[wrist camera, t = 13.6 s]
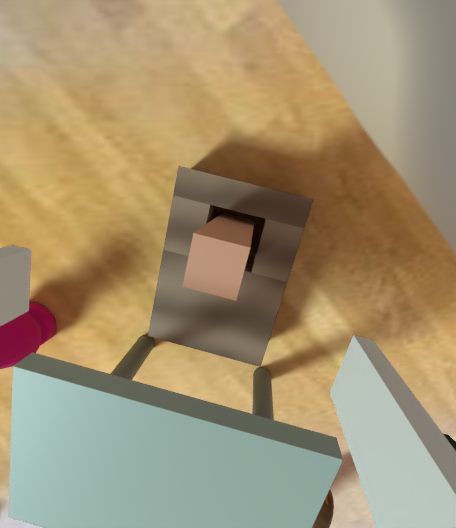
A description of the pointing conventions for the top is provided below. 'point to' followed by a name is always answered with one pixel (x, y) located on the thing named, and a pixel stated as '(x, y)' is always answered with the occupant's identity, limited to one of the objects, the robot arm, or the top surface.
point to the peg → (219, 256)
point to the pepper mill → (25, 334)
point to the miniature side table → (156, 453)
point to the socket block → (255, 274)
